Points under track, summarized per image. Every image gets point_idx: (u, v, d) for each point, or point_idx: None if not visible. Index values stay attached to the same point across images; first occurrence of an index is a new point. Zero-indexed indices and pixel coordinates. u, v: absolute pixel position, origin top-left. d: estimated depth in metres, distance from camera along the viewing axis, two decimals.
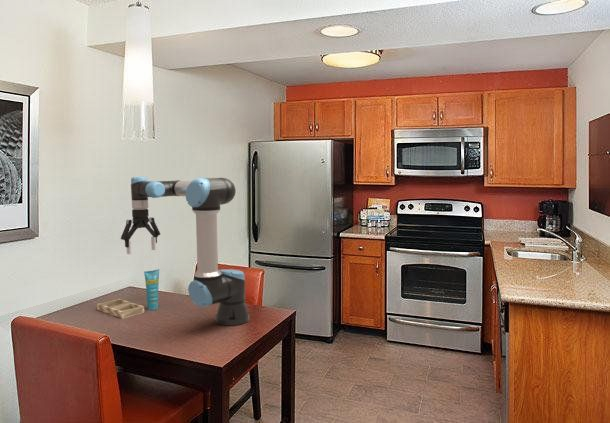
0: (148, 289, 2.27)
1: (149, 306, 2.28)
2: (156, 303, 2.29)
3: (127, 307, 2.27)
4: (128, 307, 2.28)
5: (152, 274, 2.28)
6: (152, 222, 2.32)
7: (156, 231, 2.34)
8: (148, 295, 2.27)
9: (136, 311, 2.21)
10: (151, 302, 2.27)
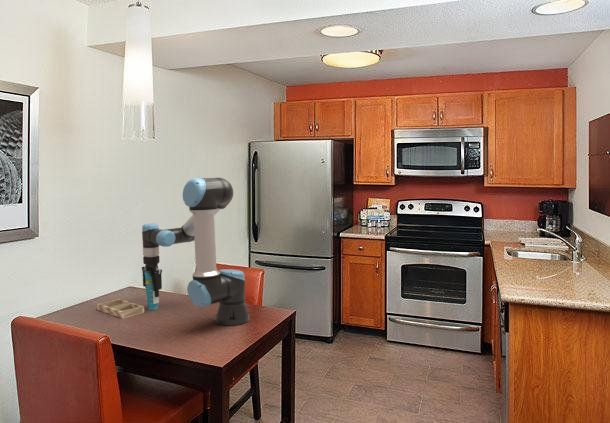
0: (148, 289, 2.27)
1: (149, 306, 2.28)
2: (156, 303, 2.29)
3: (127, 307, 2.27)
4: (128, 307, 2.28)
5: None
6: (155, 274, 2.25)
7: None
8: (148, 295, 2.27)
9: (136, 311, 2.21)
10: (151, 302, 2.27)
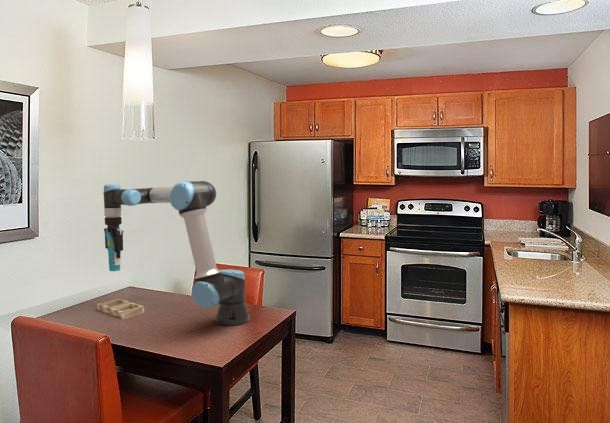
0: (110, 250, 2.25)
1: (111, 267, 2.26)
2: (118, 265, 2.27)
3: (127, 307, 2.27)
4: (128, 307, 2.28)
5: None
6: (117, 234, 2.22)
7: None
8: (110, 256, 2.25)
9: (136, 311, 2.21)
10: (113, 263, 2.25)
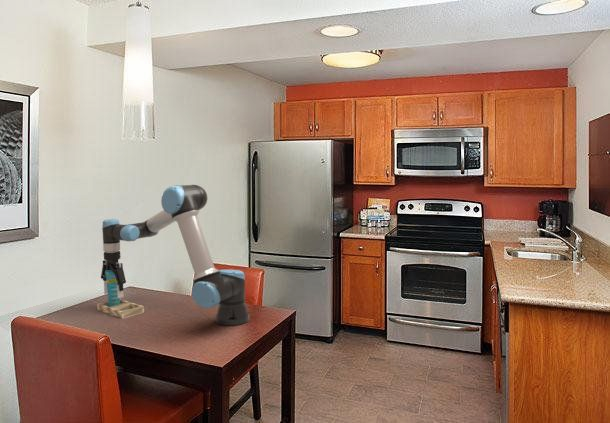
0: (109, 288, 2.26)
1: (110, 305, 2.27)
2: (117, 302, 2.28)
3: (127, 307, 2.27)
4: (128, 307, 2.28)
5: (113, 273, 2.28)
6: (117, 268, 2.23)
7: None
8: (109, 294, 2.27)
9: (136, 311, 2.21)
10: (113, 301, 2.27)
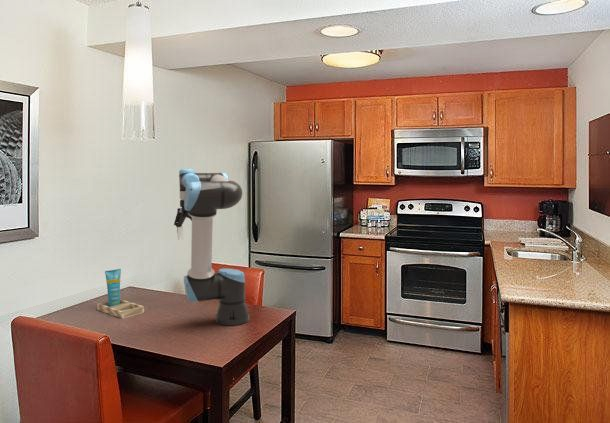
0: (109, 288, 2.26)
1: (110, 305, 2.27)
2: (117, 302, 2.28)
3: (127, 307, 2.27)
4: (128, 307, 2.28)
5: (113, 273, 2.28)
6: None
7: None
8: (109, 294, 2.26)
9: (136, 311, 2.21)
10: (113, 301, 2.27)
